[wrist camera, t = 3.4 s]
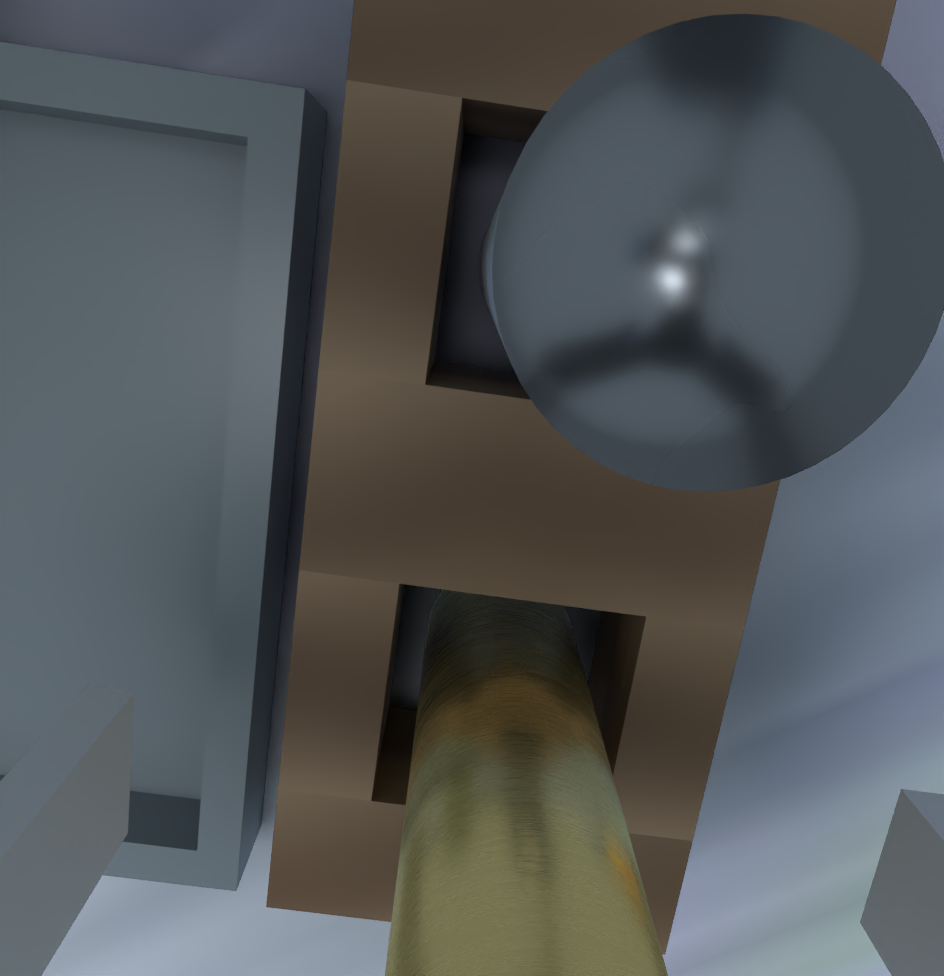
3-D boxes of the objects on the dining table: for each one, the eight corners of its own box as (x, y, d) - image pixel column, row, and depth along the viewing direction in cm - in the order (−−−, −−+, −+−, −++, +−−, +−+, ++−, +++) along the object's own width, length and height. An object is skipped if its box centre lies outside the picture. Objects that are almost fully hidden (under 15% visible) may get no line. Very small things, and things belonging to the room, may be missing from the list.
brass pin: (437, 554, 21) (386, 989, 8) (580, 574, 21) (742, 1029, 8) (419, 685, 22) (347, 1255, 9) (556, 703, 22) (671, 1289, 9)
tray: (-95, 47, 18) (-183, 13, 16) (327, 112, 18) (304, 88, 16) (-77, 783, 23) (-143, 845, 20) (261, 824, 23) (236, 891, 20)
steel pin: (491, 171, 19) (531, -25, 6) (651, 196, 19) (1014, 54, 6) (468, 335, 20) (462, 460, 7) (621, 357, 20) (885, 518, 7)
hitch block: (388, -35, 18) (365, -120, 14) (811, 32, 18) (904, -31, 14) (301, 797, 23) (266, 907, 19) (632, 838, 23) (664, 954, 19)
